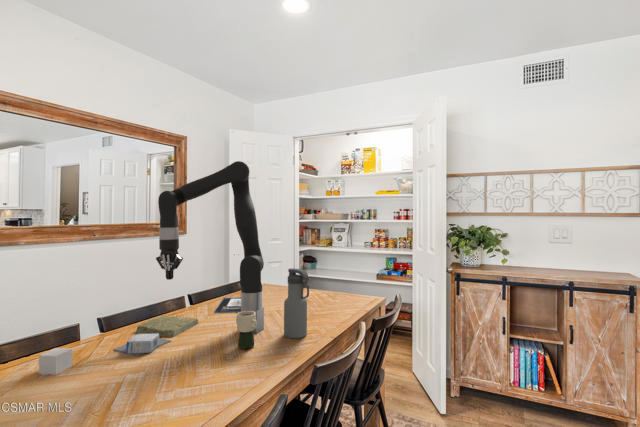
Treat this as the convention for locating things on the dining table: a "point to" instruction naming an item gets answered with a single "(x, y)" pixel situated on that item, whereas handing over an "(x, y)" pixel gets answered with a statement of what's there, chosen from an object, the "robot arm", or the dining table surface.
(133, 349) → the medicine box
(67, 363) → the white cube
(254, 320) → the character mug
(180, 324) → the folded green cloth
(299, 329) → the water bottle
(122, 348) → the mat
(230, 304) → the sketchbook
